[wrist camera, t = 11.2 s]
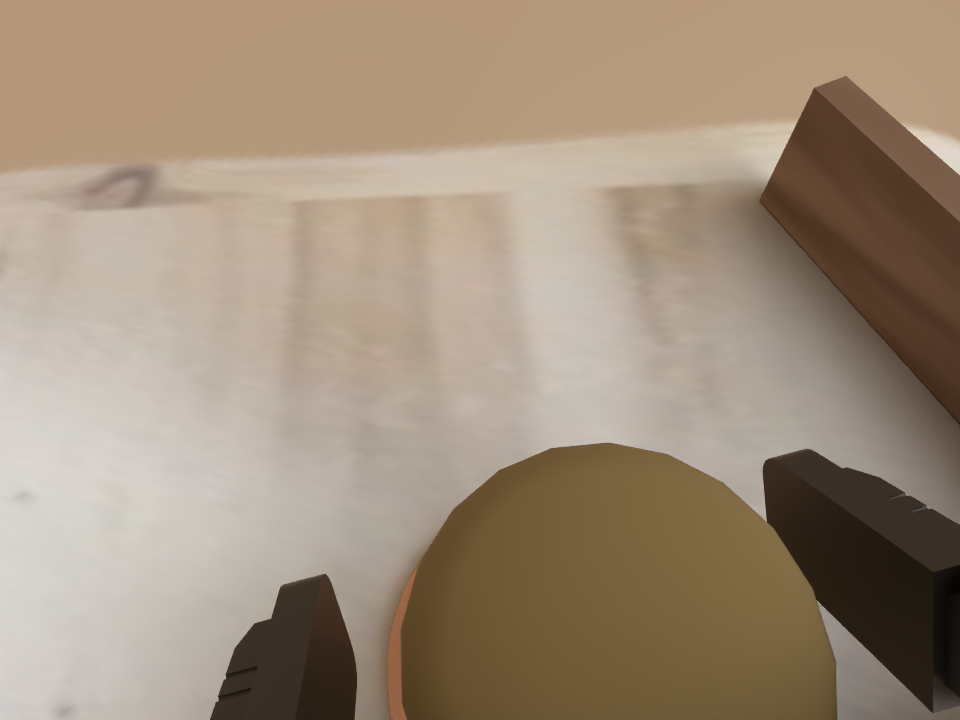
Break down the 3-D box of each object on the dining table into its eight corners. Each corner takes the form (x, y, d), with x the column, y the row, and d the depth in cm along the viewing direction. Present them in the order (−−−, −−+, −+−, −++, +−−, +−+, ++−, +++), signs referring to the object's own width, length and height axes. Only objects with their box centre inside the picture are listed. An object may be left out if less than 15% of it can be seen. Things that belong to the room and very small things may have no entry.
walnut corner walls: (451, 1145, 13) (415, 1384, 8) (244, 407, 21) (171, 329, 16) (1229, 664, 16) (1503, 651, 11) (785, 189, 24) (845, 76, 20)
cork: (529, 877, 14) (550, 1268, 4) (403, 631, 17) (246, 543, 7) (733, 716, 15) (1094, 752, 6) (587, 510, 18) (665, 296, 8)
